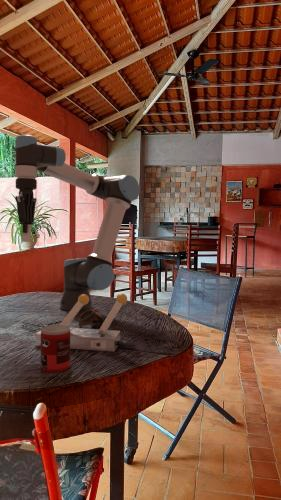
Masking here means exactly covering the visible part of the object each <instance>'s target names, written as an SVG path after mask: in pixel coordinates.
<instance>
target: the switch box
mask: <svg viewBox="0 0 281 500" xmlns="http://www.w3.org/2000/svg"><path fill="white" fill-rule="evenodd" d="M35 346H36V347H41V330H39V331H37V332H36V333H35ZM118 347H128V348H136V347H137V342H136V341H124V340H121V330H113V329H112V330H111V329H107V331H106V332H105V333H104V334H102V335H99V329H98V328H97V329H94V328H83V327H81V328H80V327H79V328H78V327H70V349H71V350H72V349H74V350H89V351H98V352H99V351H100V352H101V351H102V352H112V353H113V352H115V351H116V350H117V349H118Z"/></svg>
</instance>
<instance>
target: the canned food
mask: <svg viewBox="0 0 281 500" xmlns="http://www.w3.org/2000/svg"><path fill="white" fill-rule="evenodd" d="M70 328H71V327H70V326H69V325H68V326H65V325H60V324H52V325H45V326H43V327H41V329H40V331H41V346H40V366H41V369H42V371H44V372H47V373H60V372H64V371H66V370H68V369H69V368H70V366H71V348H70Z"/></svg>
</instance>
